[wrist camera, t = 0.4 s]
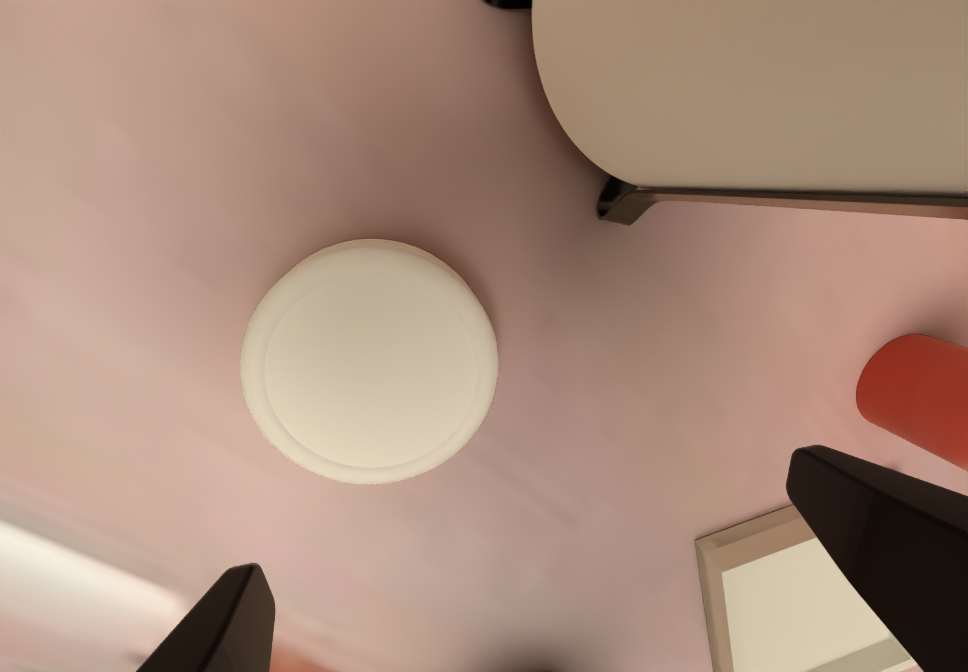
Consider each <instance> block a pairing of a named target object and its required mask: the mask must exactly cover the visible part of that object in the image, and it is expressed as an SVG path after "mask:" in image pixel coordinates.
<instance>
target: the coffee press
mask: <svg viewBox="0 0 968 672" xmlns="http://www.w3.org/2000/svg"><path fill="white" fill-rule="evenodd" d="M482 1H483V2H484V3H486V4H488V5H489V6H492V7H494V8H497V9H501V10H508V11H519V10H532V33H533V44H534V51H535V57H536V63H537V67H538V71H539V75H540V79H541V82H542V85H543V88H544V91H545V94H546V96H547V99H548V101H549V103H550V106H551V108H552V110H553V112H554V114H555V116H556V118H557V119H558V121H559V123H560V124H561V126H562V128H563V129H564V131H565V132H566V133H567V135H568V136H569V138H570V139H571V140H572V141H573V143H574V144H575V145H576V146H577V147H578V148H579V149H580V150H581V151H582V152H583V153H584V154H585V155H586V156H587V157H588V158H589V159H590V160H591V161H592V162H594V163H595V164H596V165H597V166H599V167H600V168H601V169H603V170H604V171H606V172H607V173H609V174H611V177H610V179H609V180H608V182H607V183H606V185H605V186H604V188H603V190H602V192H601V194H600V196H599V199H598V203H597V217H598V218H599V219H600V220H605V221H609V222H614V223H618V224H623V225H628V226H629V225H631V224H633V223H634V222H635V221H636V220H637V219H638V218H639V217H640V216H641V215H642V214H643V213H644V212H645V211H646V210H647V209H648V208H649V207H650V206H652V205H653V204H655V203H656V202H659V201H691V202H708V203H724V204H739V205H755V206H770V207H785V208H800V209H815V210H830V211H846V212H861V213H876V214H891V215H906V216H921V217H936V218H950V219H965V220H968V0H482ZM638 186H639V187H643V188H647V189H651V190H636V188H637V187H638Z"/></svg>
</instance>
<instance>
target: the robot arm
mask: <svg viewBox="0 0 968 672" xmlns="http://www.w3.org/2000/svg"><path fill="white" fill-rule="evenodd" d="M786 490H787V494H788V496H789V498H790V500H791V502H792V503H793V504H794V506H795V507H796V509H797V510H798V511H799V513H800V514H801V516H802V517H803V519H804V520H805V521H806V523H807V524H808V526H809V527H810V528H811V530H812V531H813V533H814V534H815V536H816V537H817V538H818V540H819V541H820V543H821V544H822V545H823V547H824V548H825V550H826V551H827V553H828V554H829V555H830V557H831V558H832V560H833V561H834V562H835V564H836V565H837V567H838V568H839V569H840V571H841V572H842V573H843V575H844V576H845V578H846V579H847V580H848V582H849V583H850V584H851V585H852V587H853V588H854V589H855V590H856V591H857V593H858V594H859V595H860V596H861V598H862V599H863V600H864V601H865V602H866V604H867V605H868V606H869V607H870V608H871V609H872V611H873V612H874V613H875V614H876V615H877V617H878V618H879V619H880V620H881V621H882V623H883V624H884V625H885V626H886V627H887V629H888V630H889V631H890V632H891V633H892V634H893V636H894V637H895V638H896V639H897V640H898V642H899V643H900V644H901V645H902V646H903V648H904V649H905V650H906V651H907V652H908V654H909V655H910V656H911V657H912V658H913V659H914V661H915V662H916V663H917V664H918V665H919V667H920V668H921V669H922V670H923V671H924V672H968V496H966V495H963V494H960V493H957V492H954V491H951V490H949V489H946V488H943V487H940V486H937V485H934V484H931V483H928V482H926V481H923V480H920V479H917V478H914V477H911V476H908V475H906V474H903V473H900V472H897V471H894V470H891V469H888V468H886V467H883V466H880V465H877V464H874V463H871V462H868V461H866V460H863V459H860V458H857V457H854V456H851V455H848V454H845V453H843V452H840V451H837V450H834V449H831V448H828V447H825V446H822V445H812V446H807V447H802V448H798V449H796V450H795V451H794V452H793V453H792V456H791V461H790V466H789V472H788V477H787V482H786ZM274 622H275V602H274V598H273V595H272V592H271V590H270V588H269V585H268V583H267V580H266V578H265V575H264V573H263V570H262V568H261V567H260V565H259V564H257V563H249V564H245V565H240V566H235V567H232V568H229V569H228V570H227V571H225V572H224V573H223V575H222V576H221V577H220V578H219V579H218V580H217V581H216V582H215V584H214V585H213V586H212V587H211V588H210V589H209V590H208V591H207V592H206V594H205V595H204V596H203V597H202V598H201V599H200V600H199V601H198V603H197V604H196V605H195V606H194V607H193V608H192V609H191V610H190V611H189V613H188V614H187V615H186V616H185V617H184V618H183V619H182V620H181V622H180V623H179V624H178V625H177V626H176V627H175V628H174V629H173V630H172V632H171V633H170V634H169V635H168V636H167V637H166V638H165V639H164V641H163V642H162V643H161V644H160V645H159V646H158V647H157V648H156V649H155V651H154V652H153V653H152V654H151V655H150V656H149V657H148V658H147V660H146V661H145V662H144V663H143V664H142V665H141V666H140V667H139V668H138V670H137V671H136V672H269V670H270V660H271V651H272V641H273V631H274Z"/></svg>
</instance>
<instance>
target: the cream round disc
mask: <svg viewBox="0 0 968 672" xmlns="http://www.w3.org/2000/svg"><path fill="white" fill-rule="evenodd" d="M498 367H499V358H498V346H497V342H496V338H495V333H494V330H493V328H492V325H491V322H490V320H489V318H488V316H487V314H486V312H485V310H484V308H483V306H482V305H481V303H480V302H479V301H478V299H477V298H476V296H475V295H474V293H473V292H472V291H471V289H470V288H469V286H468V285H467V284H466V282H465V281H464V280H463V279H462V278H461V277H460V276H459V275H458V274H457V273H456V272H455V271H454V270H453V269H452V268H450V267H449V266H448V265H447V264H446V263H444V262H443V261H441V260H440V259H438V258H437V257H435V256H433V255H432V254H430V253H428V252H426V251H424V250H422V249H420V248H417V247H414V246H411V245H408V244H405V243H402V242H397V241H392V240H384V239H357V240H351V241H346V242H341V243H338V244H335V245H332V246H329V247H326V248H324V249H322V250H320V251H318V252H316V253H314V254H312V255H310V256H308V257H307V258H305V259H304V260H303V261H301V262H300V263H298V264H297V265H295V266H294V267H293V268H292V269H291V270H290V271H288V272H287V273H286V274H285V275H284V276H283V277H282V278H281V279H279V280H278V281H277V282H276V283H275V284H274V285H273V286H272V287H271V288H270V289H269V291H268V292H267V293H266V294H265V296H264V297H263V298H262V300H261V301H260V302H259V304H258V305H257V307H256V309H255V311H254V312H253V314H252V316H251V318H250V320H249V323H248V325H247V328H246V330H245V333H244V337H243V342H242V347H241V353H240V378H241V387H242V391H243V395H244V399H245V402H246V405H247V407H248V410H249V412H250V414H251V416H252V418H253V420H254V422H255V423H256V425H257V426H258V428H259V430H260V431H261V432H262V434H263V435H264V436H265V437H266V439H267V440H268V441H269V442H270V443H271V444H272V445H273V446H274V447H275V448H276V449H277V450H278V451H279V452H280V453H281V454H283V455H284V456H286V457H287V458H288V459H290V460H291V461H292V462H294V463H296V464H297V465H299V466H301V467H303V468H304V469H306V470H308V471H311V472H313V473H315V474H317V475H320V476H323V477H326V478H329V479H332V480H336V481H341V482H346V483H353V484H384V483H392V482H397V481H401V480H405V479H409V478H412V477H415V476H417V475H420V474H423V473H425V472H427V471H429V470H431V469H433V468H435V467H437V466H439V465H440V464H442V463H443V462H445V461H446V460H448V459H449V458H450V457H452V456H453V455H454V454H455V453H456V452H458V451H459V450H460V449H461V448H462V447H463V446H464V445H465V444H466V443H467V442H468V441H469V440H470V438H471V437H472V436H473V435H474V434H475V432H476V431H477V429H478V428H479V426H480V425H481V424H482V422H483V420H484V418H485V416H486V414H487V412H488V410H489V408H490V405H491V402H492V400H493V397H494V393H495V388H496V383H497V379H498Z"/></svg>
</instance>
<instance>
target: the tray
mask: <svg viewBox="0 0 968 672" xmlns="http://www.w3.org/2000/svg"><path fill="white" fill-rule="evenodd" d="M695 545H696V552H697V559H698V566H699V573H700V580H701V586H702V593H703V600H704V607H705V614H706V621H707V628H708V635H709V642H710V649H711V656H712V663H713V670H714V672H900V671H903V670H905V669H908V668H910V667H913V666H915V665H918V664H917V663H916V662H915V661H914V659H913V658H912V657H911V656H910V655H909V654H908V652H907V651H906V650H905V649H904V648H903V646H902V645H901V644H900V643H899V642H898V640H897V639H896V638H895V637H894V636H893V634H892V633H891V632H890V631H889V630H888V629H887V627H886V626H885V625H884V624H883V623H882V621H881V620H880V619H879V618H878V617H877V615H876V614H875V613H874V612H873V611H872V609H871V608H870V607H869V606H868V605H867V604H866V602H865V601H864V600H863V599H862V598H861V596H860V595H859V594H858V593H857V591H856V590H855V589H854V588H853V587H852V585H851V584H850V583H849V582H848V580H847V579H846V578H845V576H844V575H843V573H842V572H841V571H840V569H839V568H838V567H837V565H836V564H835V562H834V561H833V560H832V558H831V557H830V555H829V554H828V553H827V551H826V550H825V548H824V547H823V545H822V544H821V543H820V541H819V540H818V538H817V537H816V536H815V534H814V533H813V531H812V530H811V528H810V527H809V526H808V524H807V523H806V521H805V520H804V519H803V517H802V516H801V514H800V513H799V511H798V510H797V509H796V507H795V506H794V505H791V506H788V507H786V508H783V509H780V510H777V511H775V512H772V513H769V514H766V515H764V516H761V517H758V518H755V519H753V520H750V521H747V522H744V523H742V524H739V525H736V526H733V527H731V528H728V529H725V530H722V531H720V532H717V533H714V534H711V535H709V536H706V537H703V538H700V539H698V540H695Z"/></svg>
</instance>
